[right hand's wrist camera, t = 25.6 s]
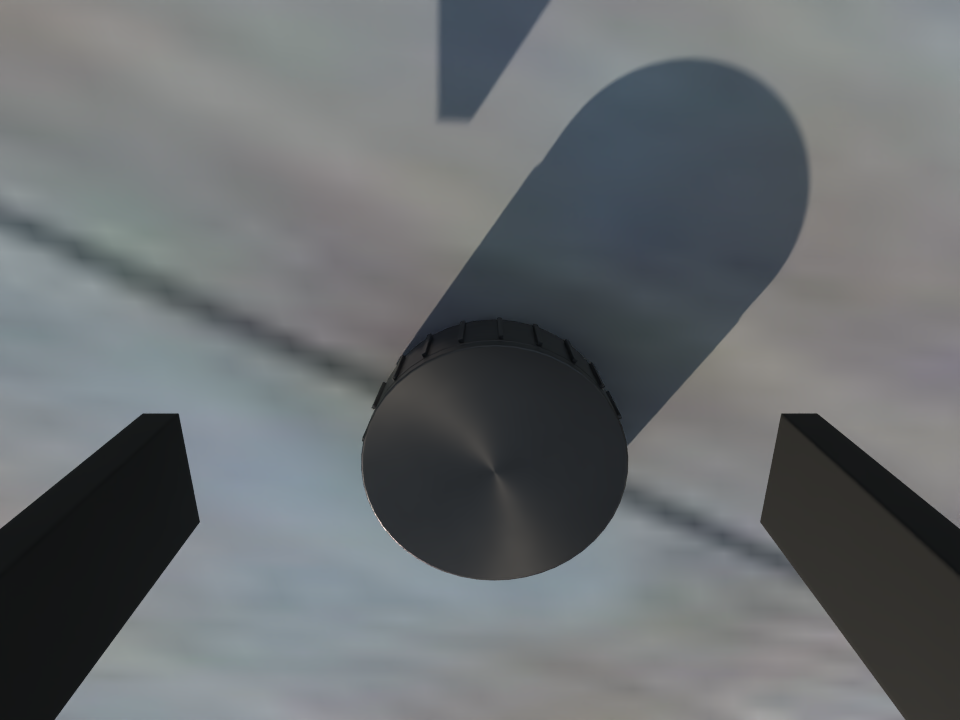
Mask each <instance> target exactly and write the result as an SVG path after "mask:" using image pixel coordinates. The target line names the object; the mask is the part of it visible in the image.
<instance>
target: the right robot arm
mask: <svg viewBox="0 0 960 720" xmlns="http://www.w3.org/2000/svg"><path fill="white" fill-rule="evenodd" d="M199 522H200V521H199V516H198V510H197V505H196V500H195V495H194V490H193V485H192V480H191V475H190V469H189V464H188V459H187V454H186V449H185V444H184V439H183V434H182V428H181V423H180V418H179V414H142V415H141V416H139V417H138V418H137V419H136V420H134V421H133V422H132V423H131V424H129V425H128V426H127V427H126V428H124V429H123V430H122V431H121V432H120V433H118V434H117V435H116V436H115V437H113V438H112V439H111V440H110V441H108V442H107V443H106V444H105V445H103V446H102V447H101V448H100V449H99V450H97V451H96V452H95V453H94V454H92V455H91V456H90V457H89V458H87V459H86V460H85V461H84V462H82V463H81V464H80V465H79V466H78V467H76V468H75V469H74V470H73V471H71V472H70V473H69V474H68V475H66V476H65V477H64V478H63V479H61V480H60V481H59V482H58V483H57V484H55V485H54V486H53V487H52V488H50V489H49V490H48V491H47V492H45V493H44V494H43V495H42V496H40V497H39V498H38V499H37V500H36V501H34V502H33V503H32V504H31V505H29V506H28V507H27V508H26V509H24V510H23V511H22V512H21V513H19V514H18V515H17V516H16V517H15V518H13V519H12V520H11V521H10V522H8V523H7V524H6V525H5V526H3V527H2V528H1V529H0V720H55V718H56V717H57V716H58V714H59V713H60V712H61V710H62V709H63V707H64V706H65V705H66V703H67V702H68V701H69V699H70V698H71V697H72V695H73V694H74V692H75V691H76V690H77V688H78V687H79V686H80V684H81V683H82V682H83V680H84V679H85V678H86V676H87V675H88V673H89V672H90V671H91V669H92V668H93V667H94V665H95V664H96V663H97V661H98V660H99V658H100V657H101V656H102V654H103V653H104V652H105V650H106V649H107V648H108V646H109V645H110V644H111V642H112V641H113V639H114V638H115V637H116V635H117V634H118V633H119V631H120V630H121V629H122V627H123V626H124V624H125V623H126V622H127V620H128V619H129V618H130V616H131V615H132V614H133V612H134V611H135V609H136V608H137V607H138V605H139V604H140V603H141V601H142V600H143V599H144V597H145V596H146V595H147V593H148V592H149V590H150V589H151V588H152V586H153V585H154V584H155V582H156V581H157V580H158V578H159V577H160V575H161V574H162V573H163V571H164V570H165V569H166V567H167V566H168V565H169V563H170V562H171V560H172V559H173V558H174V556H175V555H176V554H177V552H178V551H179V550H180V548H181V547H182V546H183V544H184V543H185V541H186V540H187V539H188V537H189V536H190V535H191V533H192V532H193V531H194V529H195V528H196V526H197V525H198V524H199ZM760 522H761V524H762V525H763V526H764V528H765V529H766V531H767V532H768V533H769V535H770V536H771V537H772V539H773V540H774V541H775V543H776V544H777V546H778V547H779V548H780V550H781V551H782V552H783V554H784V555H785V556H786V558H787V559H788V560H789V562H790V563H791V565H792V566H793V567H794V569H795V570H796V571H797V573H798V574H799V575H800V577H801V578H802V580H803V581H804V582H805V584H806V585H807V586H808V588H809V589H810V590H811V592H812V593H813V594H814V596H815V597H816V599H817V600H818V601H819V603H820V604H821V605H822V607H823V608H824V609H825V611H826V612H827V614H828V615H829V616H830V618H831V619H832V620H833V622H834V623H835V624H836V626H837V627H838V629H839V630H840V631H841V633H842V634H843V635H844V637H845V638H846V639H847V641H848V642H849V643H850V645H851V646H852V648H853V649H854V650H855V652H856V653H857V654H858V656H859V657H860V658H861V660H862V661H863V663H864V664H865V665H866V667H867V668H868V669H869V671H870V672H871V673H872V675H873V676H874V678H875V679H876V680H877V682H878V683H879V684H880V686H881V687H882V688H883V690H884V691H885V692H886V694H887V695H888V697H889V698H890V699H891V701H892V702H893V703H894V705H895V706H896V707H897V709H898V710H899V712H900V713H901V714H902V716H903V717H904V718H905V720H960V529H959V528H958V527H957V526H955V525H954V524H953V523H952V522H950V521H949V520H948V519H947V518H946V517H944V516H943V515H942V514H941V513H939V512H938V511H937V510H936V509H934V508H933V507H932V506H931V505H929V504H928V503H927V502H926V501H925V500H923V499H922V498H921V497H920V496H918V495H917V494H916V493H915V492H913V491H912V490H911V489H910V488H908V487H907V486H906V485H905V484H904V483H902V482H901V481H900V480H899V479H897V478H896V477H895V476H894V475H892V474H891V473H890V472H889V471H887V470H886V469H885V468H884V467H883V466H881V465H880V464H879V463H878V462H876V461H875V460H874V459H873V458H871V457H870V456H869V455H868V454H866V453H865V452H864V451H863V450H862V449H860V448H859V447H858V446H857V445H855V444H854V443H853V442H852V441H850V440H849V439H848V438H847V437H845V436H844V435H843V434H842V433H841V432H839V431H838V430H837V429H836V428H834V427H833V426H832V425H831V424H829V423H828V422H827V421H826V420H824V419H823V418H822V417H821V416H820V415H818V414H781V418H780V423H779V429H778V434H777V439H776V444H775V449H774V454H773V459H772V464H771V470H770V475H769V480H768V485H767V490H766V495H765V500H764V505H763V510H762V516H761V521H760Z"/></svg>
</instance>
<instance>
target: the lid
mask: <svg viewBox="0 0 960 720" xmlns="http://www.w3.org/2000/svg"><path fill="white" fill-rule="evenodd" d="M604 387H605V386H604V384H603V382H602V380H601V378H600V376H599V374H598V372H597V370H596V368H595V366H594V365H593V363H590V364H589V363H588V362H587V361H586V360H585V359H584V357H583V356H582V355H581V354H580V353H578V352H577V351H576V350H575V349H574V348H573V347H572V346H571V344H570V342H569V341H568V340H567V339H566V340H565V341H563V340H562V339H560V338H559V337H557V336H555V335H553V334H551V333H549V332H547V331H545V330H543V329H540V328H538V325H536V324H533V326H531V325H528V324H524V323H519V322H514V321H504V320H502V318H497V320H483V321H475V322H469V323H465V321H462V322H461V324H460V325H457V326H454V327H451V328H448V329H445V330H443V331H441V332H439V333H437V334H435V335H431V334H429V335H428V336H427V339H426V340H425V341H423V342H422V343H420V344H419V345H417V346H416V347H415V348H414V349H413V350H412V351H410V352H409V353H408V354H407V355H406V356H404V355H402V356H401V357H400V360H399V362H398V364H397V367H396V368H395V369H394V371H393V372H392V374H391V375H390V377H389V379H388V381H387V383H385V382H383V384H382V386H381V388H380V390H379V392H378V395H377V397H376V399H375V401H374V404H373V406H372V409H374V412H373V414H372V417H371V419H370V421H369V424H368V426H367V429H366V431H365V433H364V436H363V439H362V441H363V447H362V454H361V470H362V477H363V484H364V488H365V491H366V495H367V498H368V501H369V503H370V505H371V507H372V509H373V512H374V514H375V515H376V517H377V519H378V520H379V522H380V523H381V525H382V526H383V528H384V529H385V530H386V531H387V532H388V534H389V535H390V536H391V537H392V538H393V539H394V540H395V541H396V542H397V543H398V544H399V545H400V546H401V547H402V548H403V549H404V550H406V551H407V552H409V553H410V554H411V555H413V556H414V557H416V558H417V559H419V560H421V561H422V562H424V563H426V564H428V565H430V566H432V567H434V568H437V569H439V570H441V571H444V572H447V573H450V574H454V575H457V576H461V577H466V578H472V579H479V580H510V579H517V578H523V577H528V576H532V575H535V574H539V573H542V572H545V571H547V570H550V569H552V568H555V567H557V566H559V565H561V564H563V563H565V562H567V561H568V560H570V559H572V558H573V557H575V556H576V555H578V554H579V553H580V552H582V551H583V550H584V549H585V548H587V547H588V546H589V545H590V544H591V543H592V542H593V541H595V539H596V538H597V537H598V536H599V535H600V534H601V533H602V531H603V530H604V529H605V528H606V526H607V525H608V523H609V522H610V520H611V519H612V517H613V516H614V514H615V512H616V510H617V508H618V506H619V504H620V501H621V498H622V495H623V492H624V489H625V485H626V479H627V474H628V452H627V444H626V439H625V435H624V432H623V428H622V425H621V423H620V421H619V419H621V415H620V413H619V411H618V409H617V407H616V405H615V403H614V401H613V399H612V397H611V395H610V393H609V391H607V392H606V391H605V389H604Z"/></svg>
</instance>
